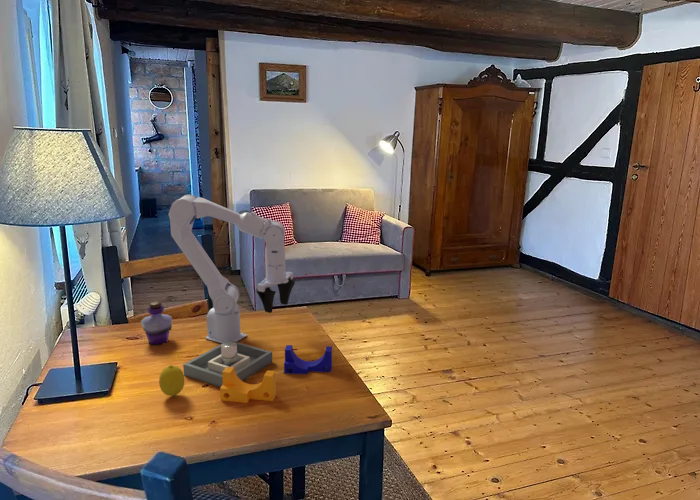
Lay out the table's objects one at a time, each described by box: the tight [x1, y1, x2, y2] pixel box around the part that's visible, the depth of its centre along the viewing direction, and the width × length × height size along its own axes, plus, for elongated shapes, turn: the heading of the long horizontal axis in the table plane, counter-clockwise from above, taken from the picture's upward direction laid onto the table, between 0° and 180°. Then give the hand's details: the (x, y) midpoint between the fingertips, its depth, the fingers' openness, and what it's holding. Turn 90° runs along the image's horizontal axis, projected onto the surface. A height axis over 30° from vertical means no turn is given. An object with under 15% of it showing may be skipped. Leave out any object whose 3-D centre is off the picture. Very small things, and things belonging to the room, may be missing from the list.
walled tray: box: [182, 340, 273, 389], centre depth 130 cm, size 15×17×3 cm
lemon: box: [159, 364, 185, 398], centre depth 116 cm, size 6×6×8 cm
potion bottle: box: [140, 300, 173, 346], centre depth 144 cm, size 9×9×12 cm
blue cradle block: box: [283, 344, 333, 375], centre depth 130 cm, size 12×4×6 cm, turn 88°
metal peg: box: [221, 342, 238, 367], centre depth 130 cm, size 4×4×6 cm
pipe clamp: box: [219, 367, 277, 404], centre depth 116 cm, size 12×4×6 cm, turn 82°
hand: (276, 307), depth 148 cm, fingers open, 7 cm apart
